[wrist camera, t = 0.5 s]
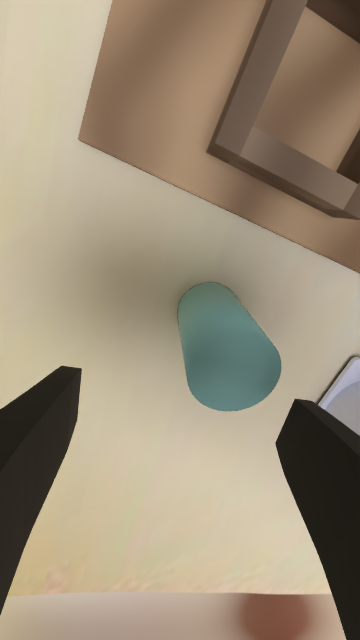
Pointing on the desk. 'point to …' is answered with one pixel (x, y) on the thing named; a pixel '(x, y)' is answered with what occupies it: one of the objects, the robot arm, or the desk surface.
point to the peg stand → (240, 109)
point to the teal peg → (225, 350)
